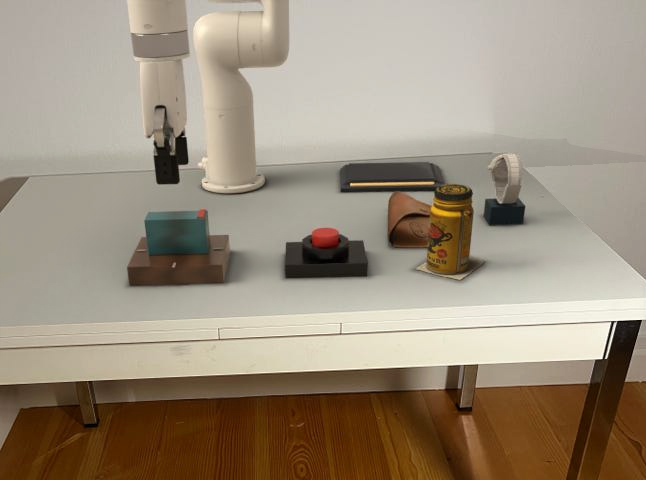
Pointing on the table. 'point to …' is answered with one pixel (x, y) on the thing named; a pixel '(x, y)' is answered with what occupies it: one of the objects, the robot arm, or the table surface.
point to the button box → (325, 259)
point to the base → (180, 265)
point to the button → (325, 237)
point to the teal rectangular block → (177, 232)
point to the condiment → (451, 233)
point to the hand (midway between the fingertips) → (173, 173)
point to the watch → (505, 192)
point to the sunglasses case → (408, 221)
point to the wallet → (390, 177)
